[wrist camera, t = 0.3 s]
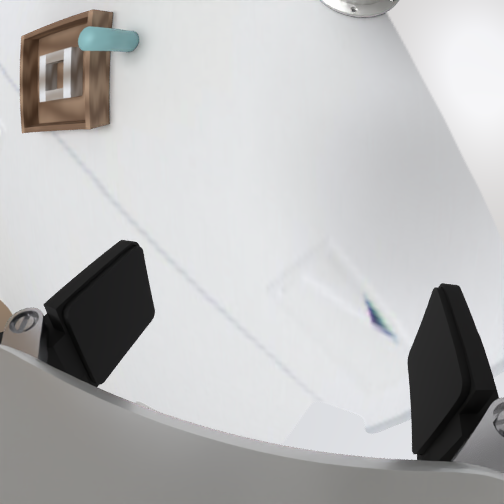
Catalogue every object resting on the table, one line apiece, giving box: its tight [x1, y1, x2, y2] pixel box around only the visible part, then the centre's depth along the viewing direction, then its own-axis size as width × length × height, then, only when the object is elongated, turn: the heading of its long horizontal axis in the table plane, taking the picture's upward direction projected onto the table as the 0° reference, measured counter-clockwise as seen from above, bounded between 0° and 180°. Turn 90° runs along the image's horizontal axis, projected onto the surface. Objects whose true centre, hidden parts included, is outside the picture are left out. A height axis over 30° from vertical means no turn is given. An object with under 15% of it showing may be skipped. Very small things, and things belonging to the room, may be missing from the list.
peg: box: [78, 26, 139, 52], centre depth 36 cm, size 4×4×10 cm
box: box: [20, 10, 113, 133], centre depth 43 cm, size 20×20×5 cm
